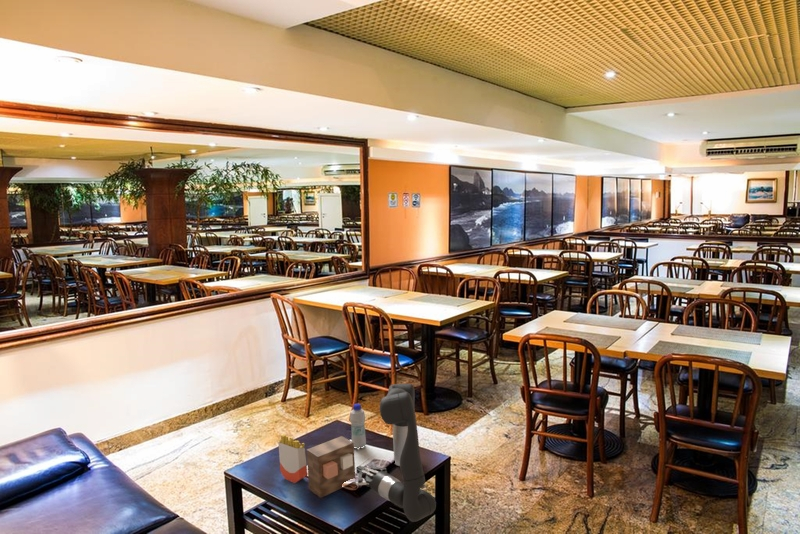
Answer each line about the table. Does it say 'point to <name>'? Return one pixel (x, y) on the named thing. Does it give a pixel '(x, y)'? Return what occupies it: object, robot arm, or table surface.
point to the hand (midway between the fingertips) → (358, 468)
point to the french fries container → (292, 459)
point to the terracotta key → (329, 469)
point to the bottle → (358, 426)
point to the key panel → (326, 454)
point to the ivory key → (346, 461)
